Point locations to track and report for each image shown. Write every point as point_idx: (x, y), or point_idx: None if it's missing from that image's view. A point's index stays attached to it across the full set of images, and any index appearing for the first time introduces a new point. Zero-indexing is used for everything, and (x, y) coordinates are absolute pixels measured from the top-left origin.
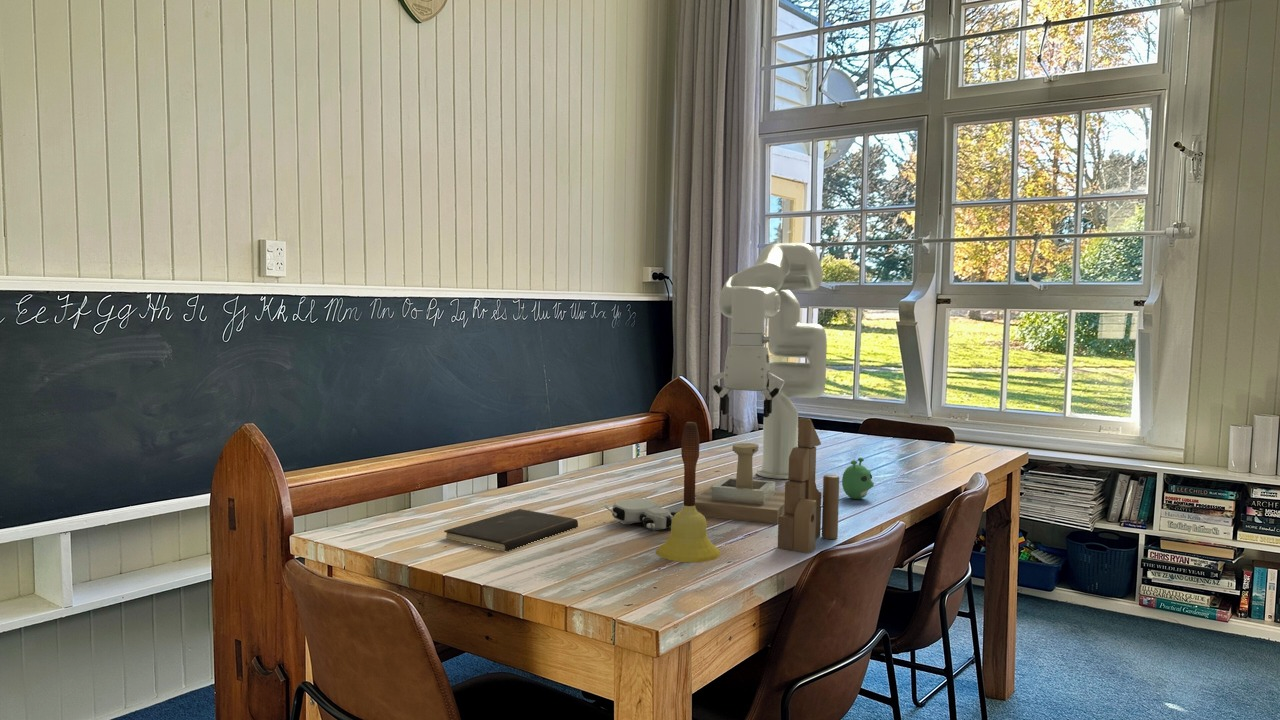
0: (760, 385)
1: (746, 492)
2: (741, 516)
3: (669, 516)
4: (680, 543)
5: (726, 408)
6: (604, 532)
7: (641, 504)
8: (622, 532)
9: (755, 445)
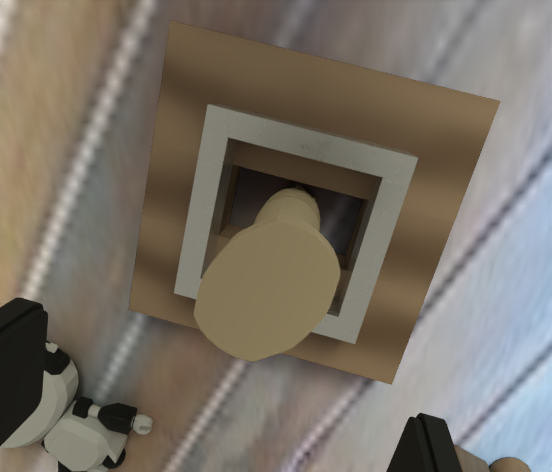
0: None
1: None
2: None
3: (109, 452)
4: None
5: (7, 409)
6: (4, 457)
7: None
8: (37, 455)
9: (321, 289)
